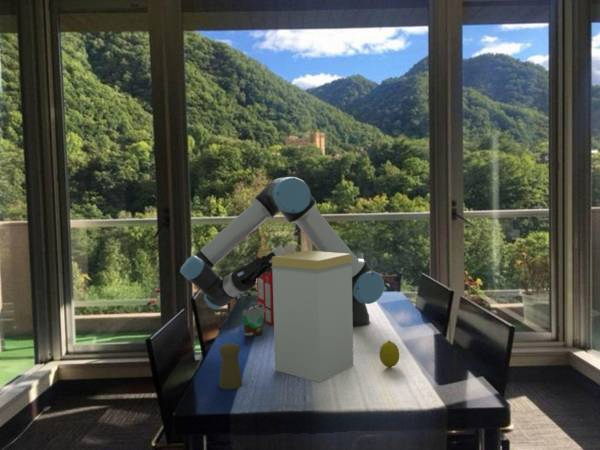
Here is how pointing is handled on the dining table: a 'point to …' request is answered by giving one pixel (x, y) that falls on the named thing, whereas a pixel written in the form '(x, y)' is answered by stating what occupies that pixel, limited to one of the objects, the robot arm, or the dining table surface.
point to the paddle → (308, 259)
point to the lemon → (389, 354)
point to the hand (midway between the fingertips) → (287, 248)
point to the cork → (230, 367)
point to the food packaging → (266, 296)
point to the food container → (253, 320)
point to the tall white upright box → (313, 321)
